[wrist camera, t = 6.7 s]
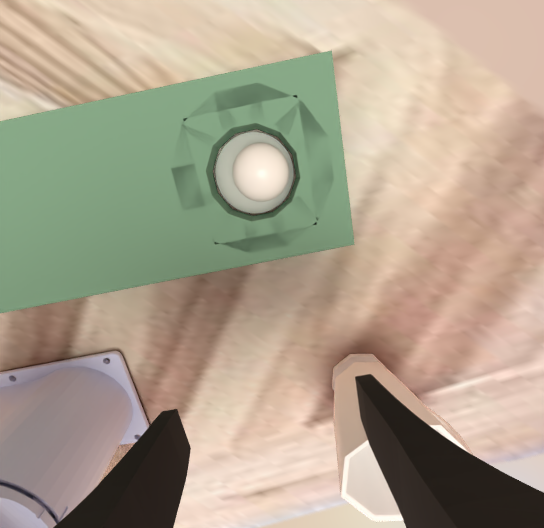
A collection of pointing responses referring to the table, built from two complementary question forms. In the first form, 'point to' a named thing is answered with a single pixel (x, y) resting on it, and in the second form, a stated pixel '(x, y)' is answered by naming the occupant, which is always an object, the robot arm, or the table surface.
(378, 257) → the table surface
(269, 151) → the ball
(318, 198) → the putting strip
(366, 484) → the cup
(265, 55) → the table surface
